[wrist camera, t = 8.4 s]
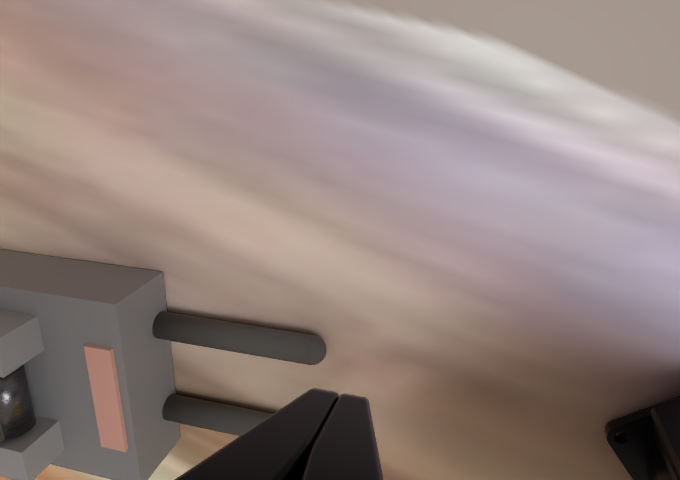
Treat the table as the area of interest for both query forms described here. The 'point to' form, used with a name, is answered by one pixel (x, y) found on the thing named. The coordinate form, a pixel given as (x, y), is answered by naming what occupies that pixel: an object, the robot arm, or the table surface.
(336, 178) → the table surface
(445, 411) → the table surface
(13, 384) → the breaker lever
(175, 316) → the pair of plug prongs
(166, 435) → the box
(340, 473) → the robot arm
